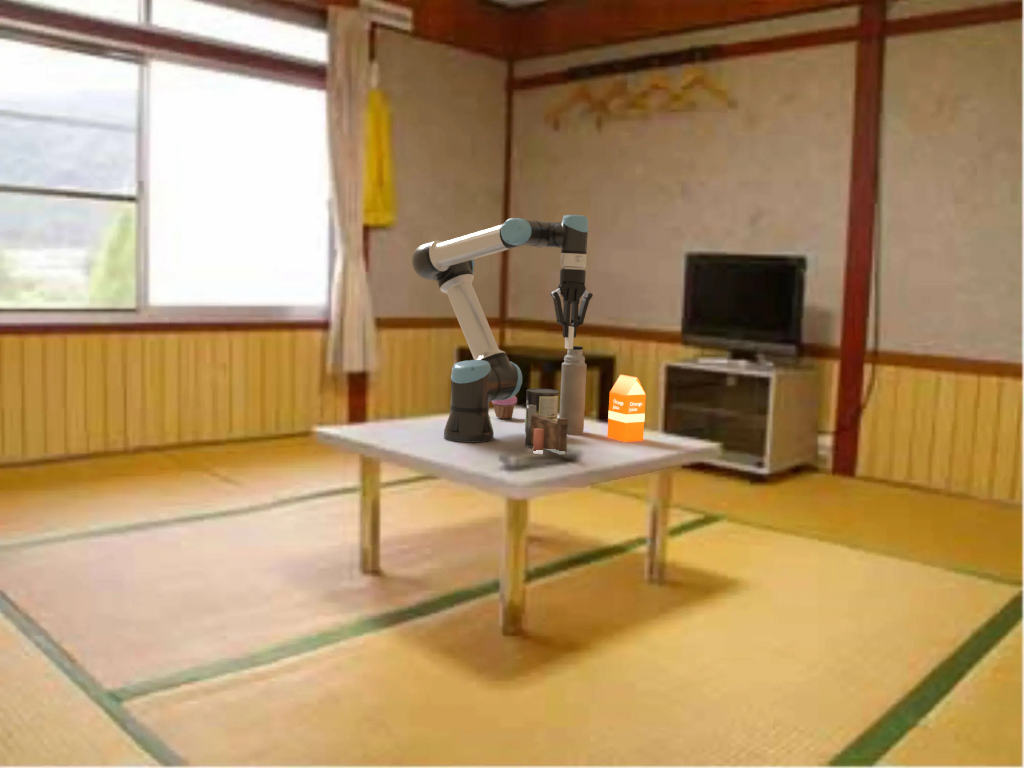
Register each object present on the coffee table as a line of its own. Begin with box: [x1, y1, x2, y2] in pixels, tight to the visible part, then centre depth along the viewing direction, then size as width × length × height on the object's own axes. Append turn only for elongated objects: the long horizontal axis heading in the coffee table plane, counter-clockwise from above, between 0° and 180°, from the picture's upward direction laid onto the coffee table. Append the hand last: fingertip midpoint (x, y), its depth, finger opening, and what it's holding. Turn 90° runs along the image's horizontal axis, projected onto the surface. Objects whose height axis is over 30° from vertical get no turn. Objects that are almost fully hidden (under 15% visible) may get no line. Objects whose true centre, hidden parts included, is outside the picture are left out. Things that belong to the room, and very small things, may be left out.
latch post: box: [532, 428, 545, 452], centre depth 266 cm, size 3×3×7 cm
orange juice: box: [607, 373, 647, 443], centre depth 296 cm, size 8×9×20 cm
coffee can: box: [524, 388, 560, 435], centre depth 297 cm, size 10×10×14 cm
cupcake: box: [491, 395, 518, 420], centre depth 328 cm, size 9×9×10 cm
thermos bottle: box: [558, 345, 588, 435], centre depth 303 cm, size 8×8×28 cm
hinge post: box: [524, 405, 536, 447], centre depth 278 cm, size 3×3×12 cm
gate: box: [531, 415, 568, 453], centre depth 268 cm, size 18×2×10 cm, turn 26°
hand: (568, 348), depth 279 cm, fingers closed
